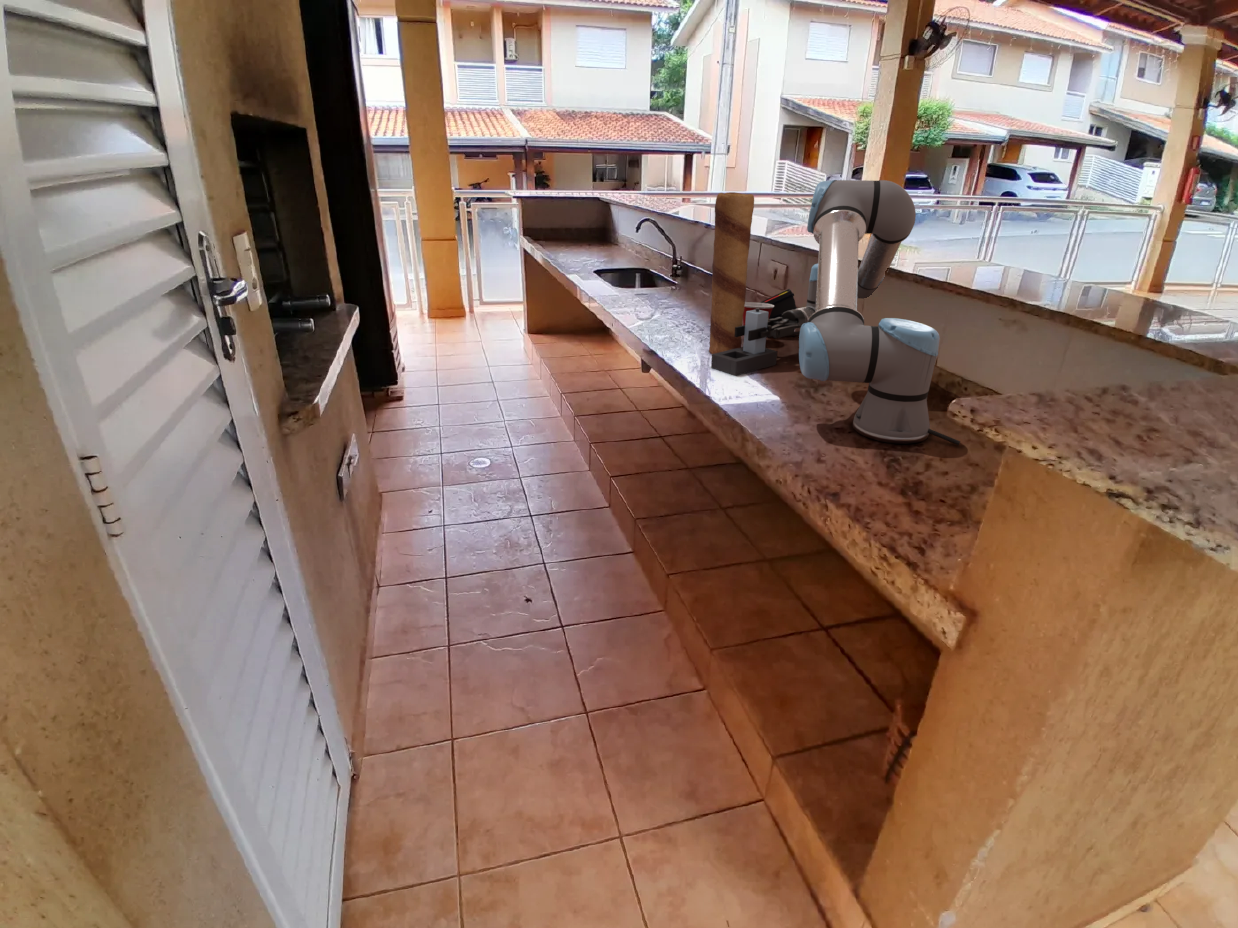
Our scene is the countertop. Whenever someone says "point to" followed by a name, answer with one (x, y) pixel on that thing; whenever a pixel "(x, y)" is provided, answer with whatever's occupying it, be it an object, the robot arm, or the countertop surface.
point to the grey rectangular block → (753, 321)
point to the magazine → (781, 303)
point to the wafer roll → (729, 268)
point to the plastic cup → (753, 306)
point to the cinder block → (742, 360)
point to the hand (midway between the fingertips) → (742, 334)
